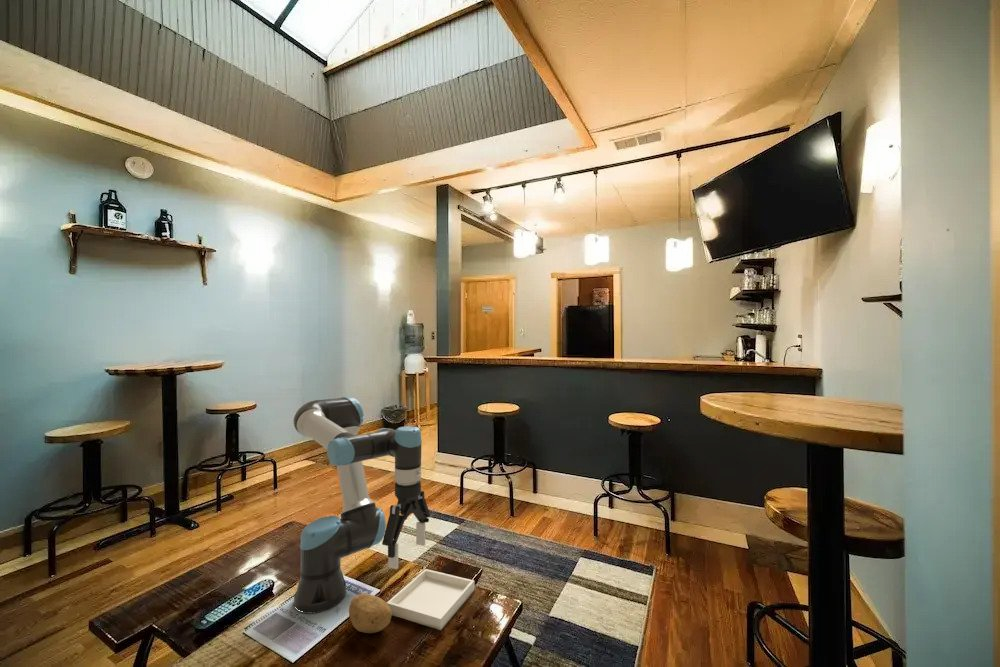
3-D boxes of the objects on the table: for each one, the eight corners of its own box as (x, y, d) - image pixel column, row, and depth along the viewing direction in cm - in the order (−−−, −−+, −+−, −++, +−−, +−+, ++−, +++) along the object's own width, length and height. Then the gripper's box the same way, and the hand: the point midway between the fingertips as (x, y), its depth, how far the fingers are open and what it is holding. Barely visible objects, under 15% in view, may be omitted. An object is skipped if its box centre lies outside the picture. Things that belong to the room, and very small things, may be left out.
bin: (386, 613, 116) (386, 602, 116) (425, 577, 134) (425, 568, 135) (440, 630, 108) (440, 619, 109) (474, 590, 127) (474, 580, 127)
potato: (373, 650, 102) (373, 618, 102) (340, 630, 109) (340, 600, 110) (401, 627, 110) (401, 598, 110) (369, 610, 118) (368, 583, 118)
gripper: (392, 498, 101) (391, 582, 101) (440, 470, 125) (440, 538, 124) (368, 494, 104) (368, 576, 103) (420, 467, 127) (420, 534, 127)
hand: (407, 555), depth 114 cm, fingers open, 13 cm apart
